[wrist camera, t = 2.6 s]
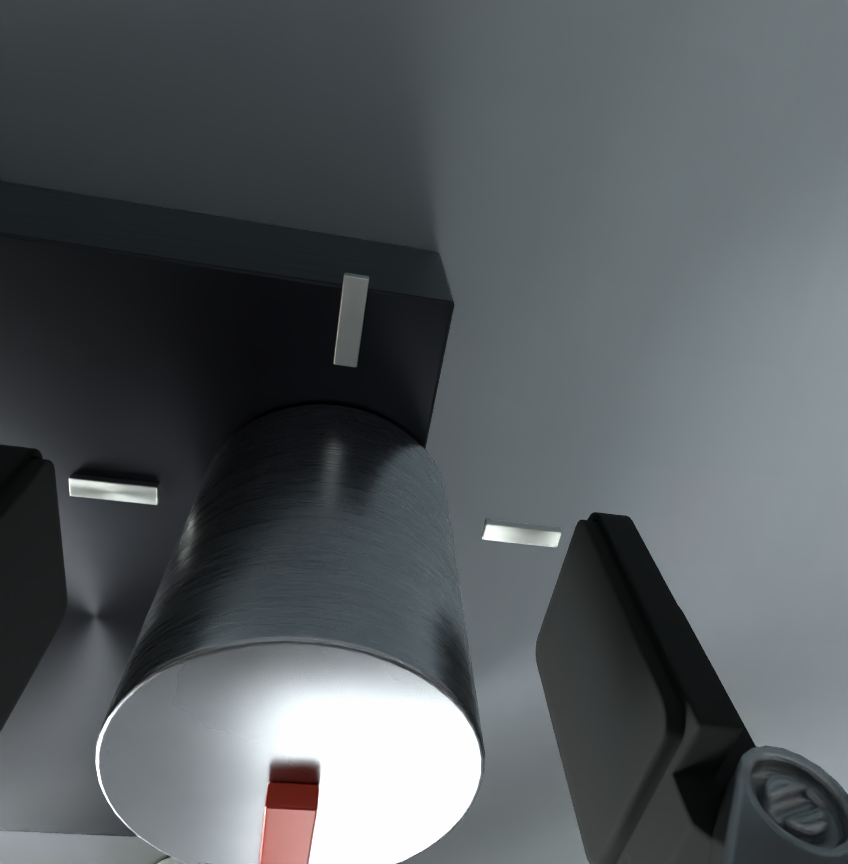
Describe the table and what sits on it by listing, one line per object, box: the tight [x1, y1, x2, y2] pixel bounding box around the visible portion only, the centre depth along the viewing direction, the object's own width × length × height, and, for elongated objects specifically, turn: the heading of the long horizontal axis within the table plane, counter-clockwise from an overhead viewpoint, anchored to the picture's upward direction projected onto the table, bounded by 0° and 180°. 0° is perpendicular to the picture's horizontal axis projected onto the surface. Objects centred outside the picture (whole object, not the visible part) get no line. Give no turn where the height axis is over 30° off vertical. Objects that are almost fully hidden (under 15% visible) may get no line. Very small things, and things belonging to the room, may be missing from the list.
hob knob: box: [96, 404, 485, 864], centre depth 10 cm, size 4×4×5 cm
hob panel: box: [0, 181, 562, 837], centre depth 14 cm, size 14×14×3 cm
